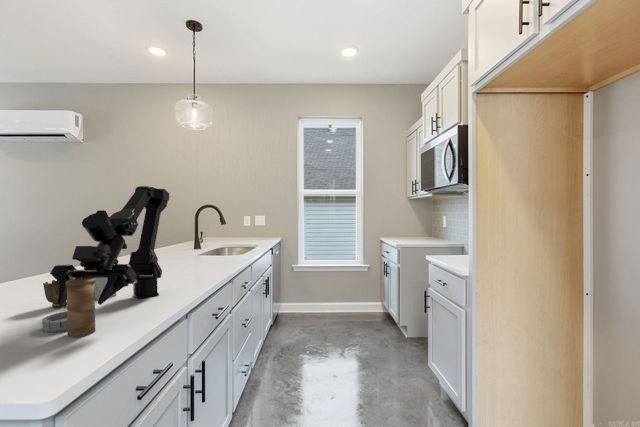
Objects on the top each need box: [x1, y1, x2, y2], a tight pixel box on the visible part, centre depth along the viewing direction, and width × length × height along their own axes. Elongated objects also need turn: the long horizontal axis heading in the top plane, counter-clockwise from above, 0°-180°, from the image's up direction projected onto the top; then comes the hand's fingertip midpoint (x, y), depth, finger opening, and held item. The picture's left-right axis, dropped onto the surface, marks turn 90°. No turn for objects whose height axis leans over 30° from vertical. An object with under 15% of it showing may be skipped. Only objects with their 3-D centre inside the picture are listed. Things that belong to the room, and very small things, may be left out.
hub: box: [41, 310, 68, 333], centre depth 81 cm, size 9×9×2 cm
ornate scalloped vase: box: [42, 279, 67, 309], centre depth 96 cm, size 8×7×8 cm
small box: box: [95, 269, 117, 301], centre depth 107 cm, size 8×6×10 cm
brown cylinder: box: [66, 277, 96, 339], centre depth 76 cm, size 6×6×13 cm
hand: (79, 304), depth 75 cm, fingers open, 9 cm apart
